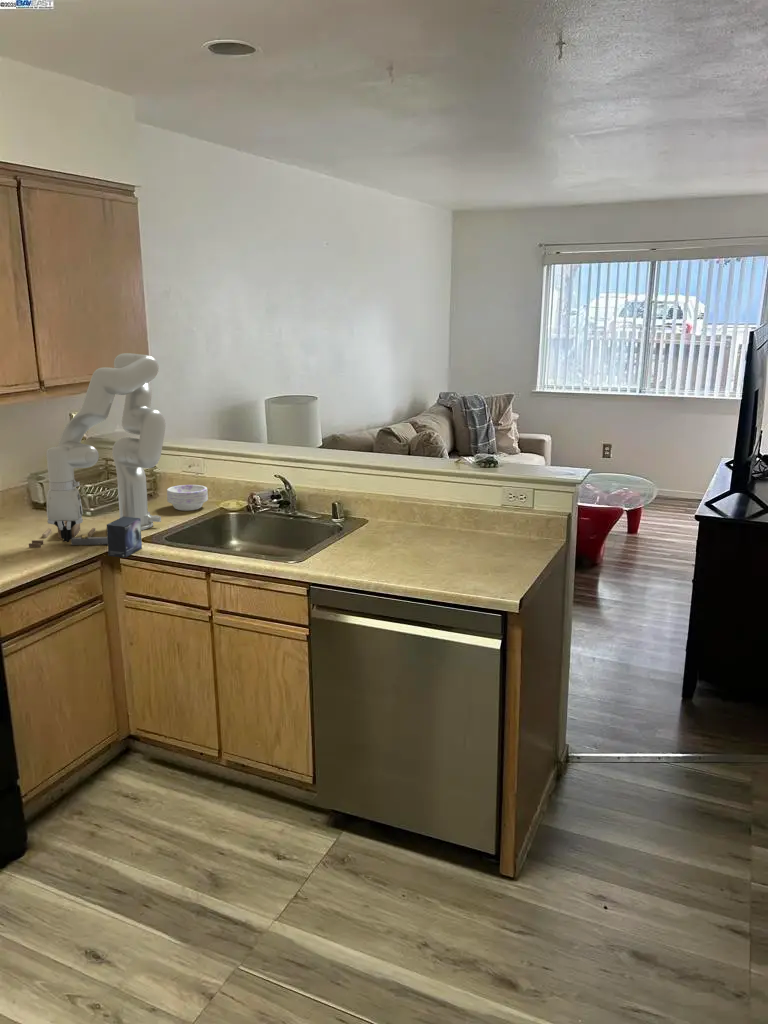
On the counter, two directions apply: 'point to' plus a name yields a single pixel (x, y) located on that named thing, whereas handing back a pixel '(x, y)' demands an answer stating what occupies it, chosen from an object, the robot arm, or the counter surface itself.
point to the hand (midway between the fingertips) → (67, 540)
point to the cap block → (74, 530)
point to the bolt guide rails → (50, 532)
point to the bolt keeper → (36, 543)
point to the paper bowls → (187, 496)
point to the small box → (124, 536)
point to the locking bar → (88, 540)
